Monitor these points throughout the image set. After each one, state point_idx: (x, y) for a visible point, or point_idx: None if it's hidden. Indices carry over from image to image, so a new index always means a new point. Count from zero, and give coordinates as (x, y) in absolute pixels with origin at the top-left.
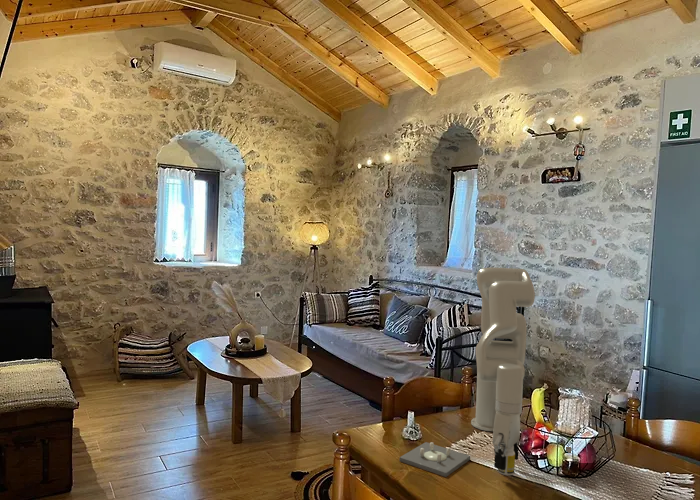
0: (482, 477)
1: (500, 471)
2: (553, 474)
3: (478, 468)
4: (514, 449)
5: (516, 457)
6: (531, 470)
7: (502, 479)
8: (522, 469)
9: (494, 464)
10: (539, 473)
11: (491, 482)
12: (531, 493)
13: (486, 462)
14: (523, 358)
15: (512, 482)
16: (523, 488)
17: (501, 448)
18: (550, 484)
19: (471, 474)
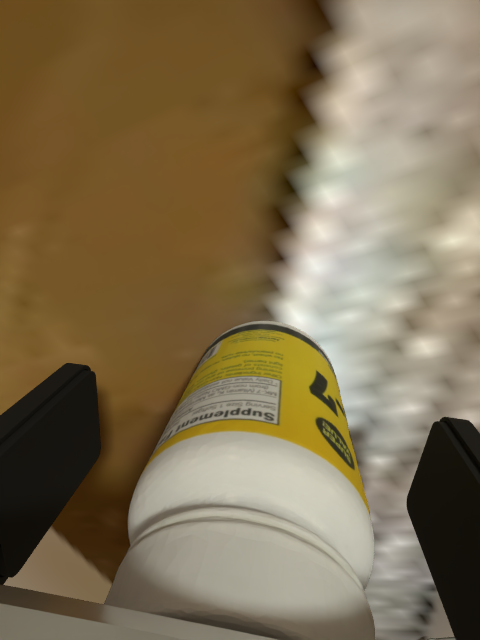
0: (41, 244)
1: (200, 360)
2: (421, 624)
3: (185, 139)
4: (465, 596)
5: (414, 520)
6: None
7: (125, 384)
8: (399, 472)
9: (51, 375)
10: (389, 564)
11: (21, 330)
12: (79, 544)
13: (390, 159)
14: None
15: (131, 446)
16: (103, 507)
17: (123, 567)
18: None
19: (16, 132)
